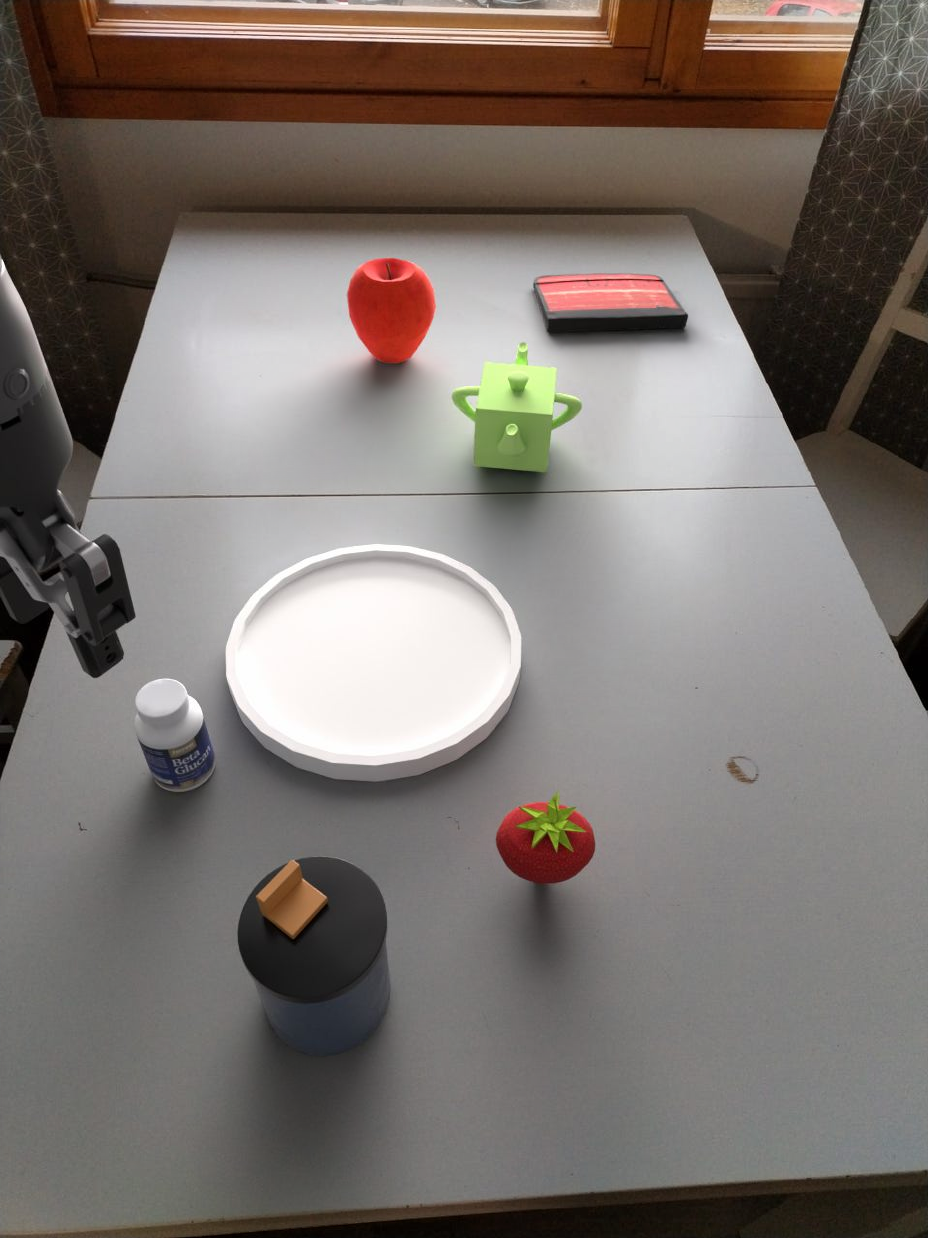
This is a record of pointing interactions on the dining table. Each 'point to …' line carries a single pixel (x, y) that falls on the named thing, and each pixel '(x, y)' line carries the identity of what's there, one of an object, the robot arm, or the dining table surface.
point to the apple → (391, 307)
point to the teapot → (515, 413)
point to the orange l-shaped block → (290, 900)
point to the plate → (374, 662)
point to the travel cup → (322, 960)
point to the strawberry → (545, 841)
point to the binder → (607, 302)
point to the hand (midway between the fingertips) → (68, 638)
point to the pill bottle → (173, 736)
